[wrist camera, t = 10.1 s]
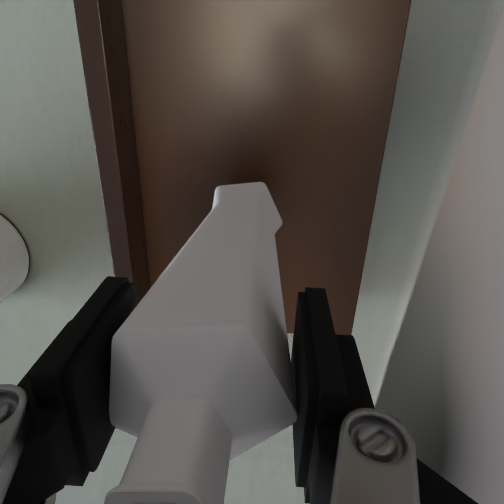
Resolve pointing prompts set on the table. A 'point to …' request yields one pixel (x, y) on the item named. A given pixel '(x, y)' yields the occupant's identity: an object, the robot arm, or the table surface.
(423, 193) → the table surface
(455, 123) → the table surface
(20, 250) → the mug
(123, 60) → the wooden display stand
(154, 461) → the perfume bottle
